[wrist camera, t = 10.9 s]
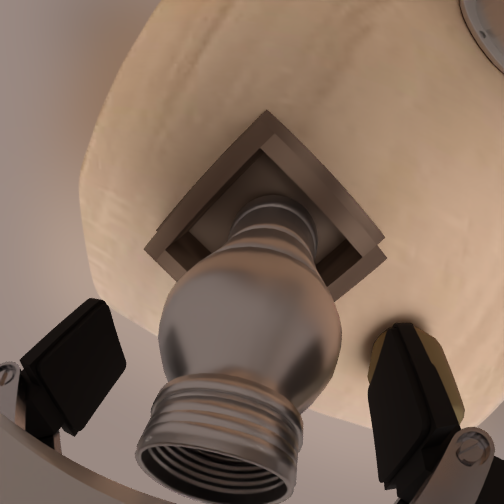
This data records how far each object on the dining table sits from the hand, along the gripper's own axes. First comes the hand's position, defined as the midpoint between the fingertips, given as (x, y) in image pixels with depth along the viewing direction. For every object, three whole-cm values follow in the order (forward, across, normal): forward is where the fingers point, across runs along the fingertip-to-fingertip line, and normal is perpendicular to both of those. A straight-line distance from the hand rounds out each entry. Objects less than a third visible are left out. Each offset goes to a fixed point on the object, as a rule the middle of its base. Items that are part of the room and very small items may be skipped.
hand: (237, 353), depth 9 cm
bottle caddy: (+16, +1, +1) cm, 17 cm away
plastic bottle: (+16, 0, +1) cm, 16 cm away
